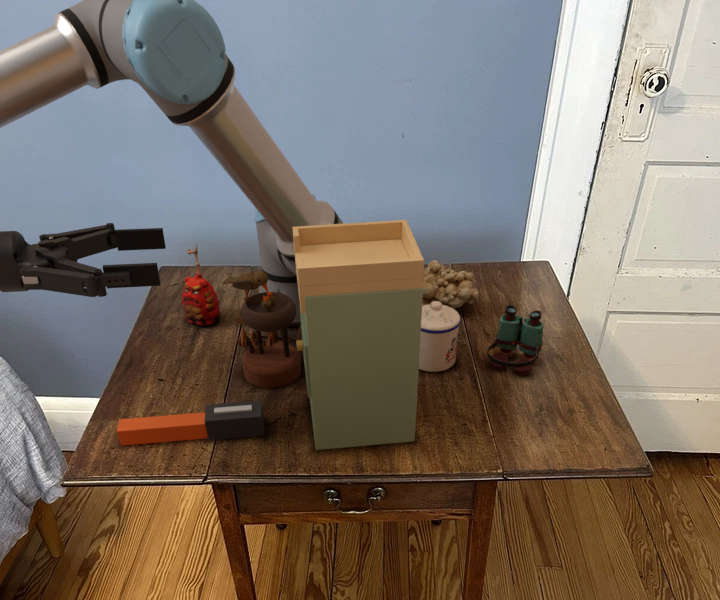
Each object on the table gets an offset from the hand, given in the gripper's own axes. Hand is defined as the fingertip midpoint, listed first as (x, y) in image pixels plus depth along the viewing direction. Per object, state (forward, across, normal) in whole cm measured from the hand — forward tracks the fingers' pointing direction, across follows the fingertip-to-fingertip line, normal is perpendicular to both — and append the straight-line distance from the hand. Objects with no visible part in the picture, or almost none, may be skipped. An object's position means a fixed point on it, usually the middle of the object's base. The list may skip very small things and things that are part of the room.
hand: (161, 255), depth 91 cm
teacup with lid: (+44, +17, +28) cm, 55 cm away
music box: (+15, +18, +29) cm, 37 cm away
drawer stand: (+28, +1, +29) cm, 40 cm away
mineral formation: (+52, +35, +26) cm, 68 cm away
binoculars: (+58, +11, +27) cm, 65 cm away
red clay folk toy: (+2, +40, +28) cm, 49 cm away
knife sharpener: (0, +2, +30) cm, 30 cm away
